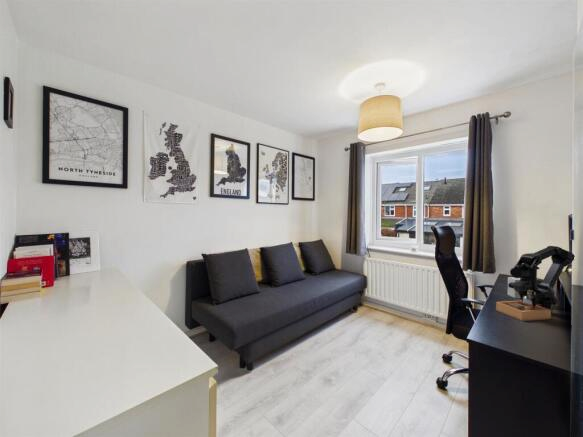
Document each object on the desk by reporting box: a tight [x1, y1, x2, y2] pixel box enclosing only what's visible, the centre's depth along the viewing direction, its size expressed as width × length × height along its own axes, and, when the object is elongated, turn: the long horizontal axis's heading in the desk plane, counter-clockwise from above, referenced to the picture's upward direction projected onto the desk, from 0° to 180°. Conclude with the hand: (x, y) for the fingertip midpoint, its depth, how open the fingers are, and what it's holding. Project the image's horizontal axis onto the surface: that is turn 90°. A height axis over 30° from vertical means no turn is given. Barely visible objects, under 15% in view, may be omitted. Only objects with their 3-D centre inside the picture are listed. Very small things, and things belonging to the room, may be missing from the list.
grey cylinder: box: [523, 295, 535, 310], centre depth 137 cm, size 5×5×7 cm
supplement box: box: [507, 276, 521, 299], centre depth 166 cm, size 7×7×13 cm
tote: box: [495, 300, 552, 322], centre depth 137 cm, size 18×14×5 cm
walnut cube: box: [508, 303, 525, 311], centre depth 136 cm, size 5×5×5 cm
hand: (528, 304), depth 137 cm, fingers closed on grey cylinder, 5 cm apart
